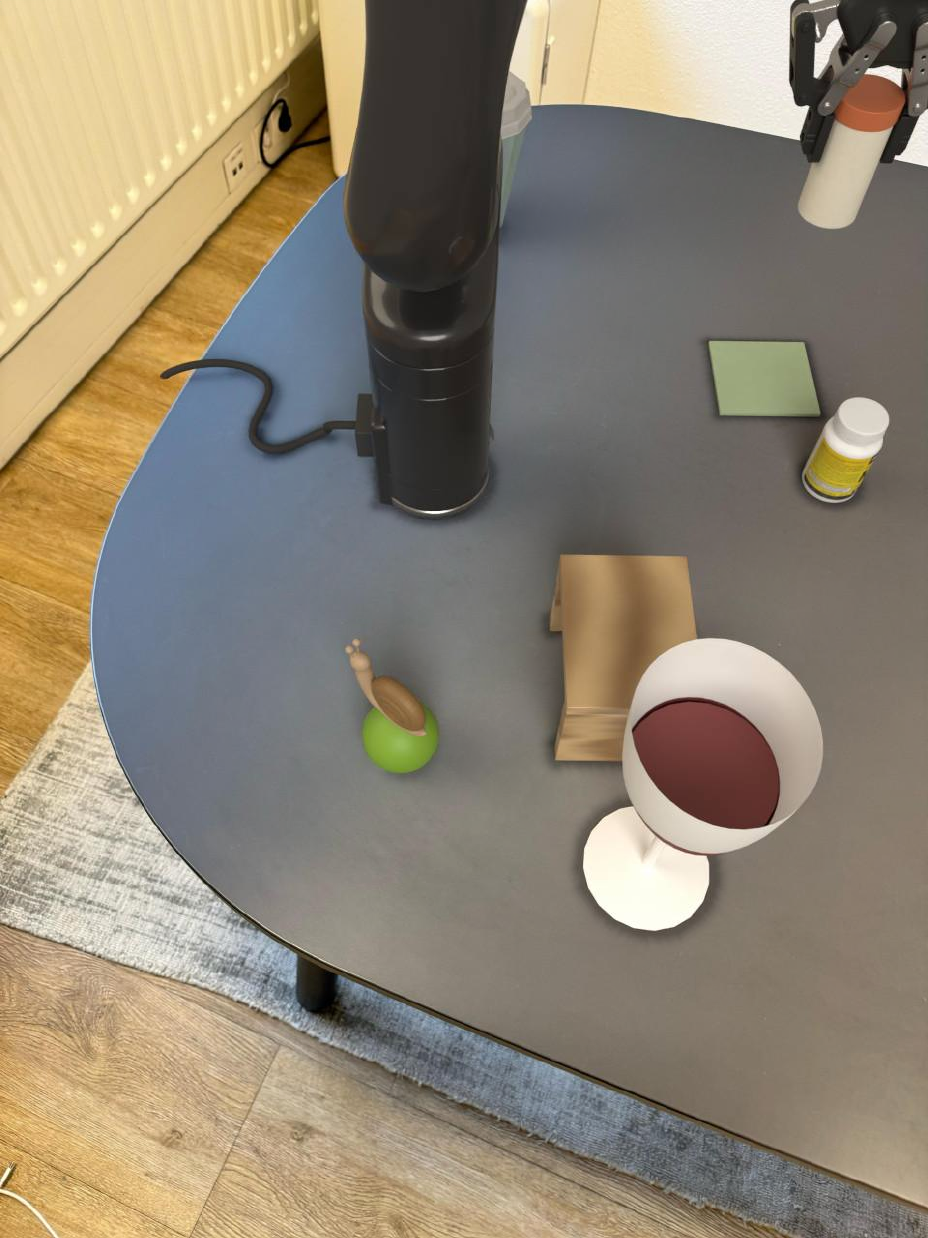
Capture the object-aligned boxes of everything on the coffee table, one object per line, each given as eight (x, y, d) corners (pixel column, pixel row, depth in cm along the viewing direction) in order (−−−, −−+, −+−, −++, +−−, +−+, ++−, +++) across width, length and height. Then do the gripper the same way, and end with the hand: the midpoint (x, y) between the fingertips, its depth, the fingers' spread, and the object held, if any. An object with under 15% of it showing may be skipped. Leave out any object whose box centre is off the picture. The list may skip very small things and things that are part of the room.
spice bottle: (801, 229, 73) (843, 112, 65) (791, 190, 75) (831, 72, 67) (862, 230, 73) (912, 113, 65) (851, 191, 75) (898, 73, 67)
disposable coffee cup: (408, 204, 102) (401, 60, 89) (505, 185, 104) (512, 42, 91) (437, 269, 97) (434, 127, 84) (538, 248, 99) (551, 106, 86)
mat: (719, 415, 87) (720, 412, 87) (708, 343, 92) (709, 340, 91) (819, 416, 87) (820, 413, 87) (802, 344, 92) (804, 341, 91)
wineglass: (700, 794, 69) (798, 635, 49) (724, 938, 64) (844, 826, 44) (573, 798, 69) (619, 640, 49) (586, 943, 64) (645, 832, 44)
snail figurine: (389, 694, 73) (377, 612, 63) (454, 744, 71) (454, 669, 61) (339, 746, 71) (319, 670, 60) (406, 799, 69) (396, 730, 58)
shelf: (554, 760, 70) (567, 707, 63) (549, 618, 76) (560, 553, 69) (678, 762, 70) (706, 709, 63) (663, 620, 76) (687, 555, 69)
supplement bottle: (856, 508, 82) (895, 443, 75) (800, 499, 82) (833, 433, 75) (856, 465, 84) (894, 397, 77) (801, 456, 85) (833, 388, 78)
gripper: (1055, -147, 57) (933, 126, 72) (813, -150, 57) (741, 123, 72) (1095, -84, 53) (958, 190, 68) (836, -87, 54) (755, 188, 68)
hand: (847, 155), depth 70 cm, fingers closed on spice bottle, 4 cm apart
